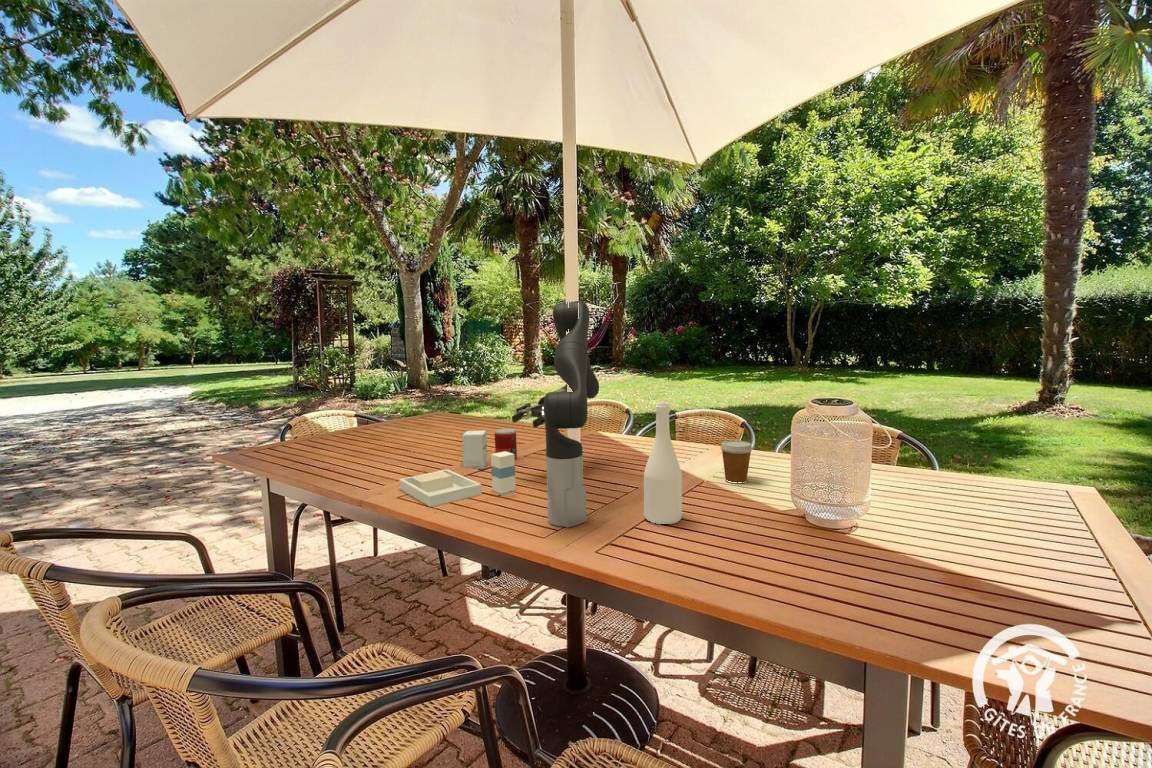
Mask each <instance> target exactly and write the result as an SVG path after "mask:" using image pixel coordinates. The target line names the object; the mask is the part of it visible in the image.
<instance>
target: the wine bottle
mask: <svg viewBox="0 0 1152 768" xmlns="http://www.w3.org/2000/svg"><path fill="white" fill-rule="evenodd" d="M654 409H655V411H654V412H655V413H656V414H655V415H656V417H655V424H656V425H655V438H654V441H653V444H652V448H651V450H650V454H649V456H648V458H647V462H646V465H645V469H644V471H643V472H644V473H643V502H644V503H643V511H644V518H645V519H646V520H647V521H648V522H649V521H650V523H652V524H655V523H656V525H661V524H669V525H673V524H677V523H679V522H680V521H681V519H682V518H683V473H682V470H681V465H680V462H679V460H678V458H677V454H676V451H675V448H674V446H673V442H672V439H671V433H670V412H671V405H670V403H669V402H666V401H664V402H663V401H660V402H656V403H655V406H654Z"/></svg>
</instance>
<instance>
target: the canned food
mask: <svg viewBox="0 0 1152 768" xmlns="http://www.w3.org/2000/svg"><path fill="white" fill-rule="evenodd" d="M494 447H495V448H494V449H495V450H494V451H495V453H499V452H504V451H506V452H509V453H512V454H514V459H516V460H517V457H518V456H517V455H518V450H517V447H518V446H517V430H516V429H514V428H499V429H496V430H494Z"/></svg>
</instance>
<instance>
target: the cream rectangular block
mask: <svg viewBox="0 0 1152 768" xmlns="http://www.w3.org/2000/svg"><path fill="white" fill-rule="evenodd" d="M440 471H441V472H437V471H435V472H436V473H432V472H430V473H431V474H427V473H425V474H426V475H423V474H420V475H421V476H418V475H416V476H417V477H413V476H411V477H412V484H413V485H415V486H417V487H418V488H420V489H422V490H424V491H426V492H427V493H428V492H433V491H437V490H441V489H446V488H450V487H453V479H452V475H450V474H447V473H445V472H443V471H442V470H440Z"/></svg>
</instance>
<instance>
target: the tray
mask: <svg viewBox="0 0 1152 768" xmlns="http://www.w3.org/2000/svg"><path fill="white" fill-rule="evenodd" d="M441 471H443V472H445V473H447V474H450V475H452V479H453V487H450V488H446V489H441V490H437V491H433V492H428V493H427V492H426V491H424V490H422V489H420V488H418V487H417V486H415V485H413V484H412V477H417V476H421V475H426V474H431V473H436V472H441ZM398 482H399V490H401V491H402V492H404V493H405V494H407V495H409V496H411V497H412V498H414V499H416V500H417V501H419V502H421V503H422V504H424V505H425V506H427V507H429V508H432V507H436V506H440V505H445V504H448V503H453V502H457V501H461V500H465V499H468V498H472V497H473V498H474V497H476V496H480V495H481V496H482V495H483V493H482V484H481V483H480V482H478V481H475V480H473V479H470V478H468V477H466V476H464V475H461V474H459V473H458V472H455V471H453V470H450V469H442V470H438V471H434V472H429V473H424V474H418V475H413V476H409V477H404V478H403V477H402V478H399V479H398Z"/></svg>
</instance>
